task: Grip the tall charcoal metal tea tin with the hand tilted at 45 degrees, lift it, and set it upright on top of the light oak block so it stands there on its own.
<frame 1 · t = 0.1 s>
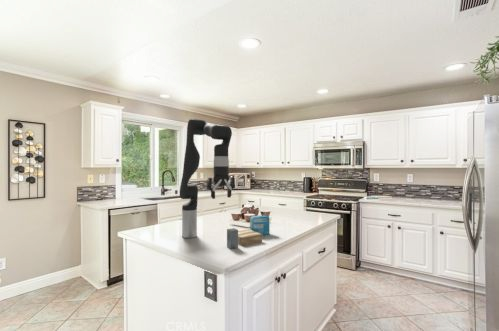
hand: (221, 198, 133), 29 cm above the counter, tool pointing down, fingers open, 8 cm apart
oak block: (245, 241, 160), on the counter
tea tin: (232, 247, 148), on the counter
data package: (259, 234, 176), on the counter
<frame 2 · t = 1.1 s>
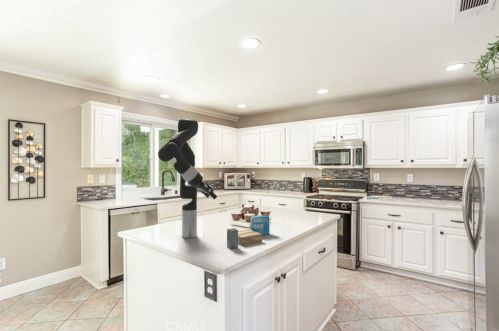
hand: (212, 197, 141), 29 cm above the counter, tool tilted 45°, fingers open, 8 cm apart
nothing on the counter moved.
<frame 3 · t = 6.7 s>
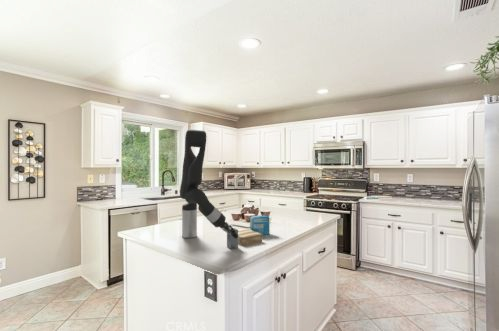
hand: (234, 236, 148), 6 cm above the counter, tool tilted 45°, fingers closed on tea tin, 4 cm apart
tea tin: (232, 247, 148), on the counter, touching gripper
everything else where it was.
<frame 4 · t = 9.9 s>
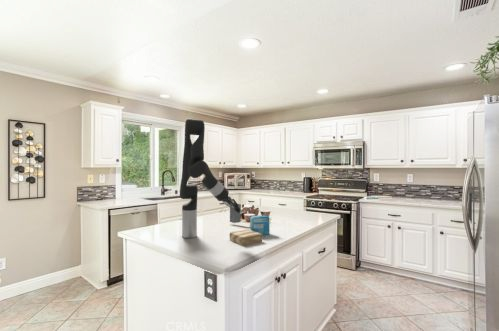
hand: (237, 210, 151), 20 cm above the counter, tool tilted 45°, fingers closed on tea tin, 4 cm apart
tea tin: (235, 221, 150), point 14 cm above the counter, touching gripper
everything else where it was.
when the fingers open (13 cm above the counter, at t = 13.3 s): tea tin drops 2 cm, point 5 cm above the counter.
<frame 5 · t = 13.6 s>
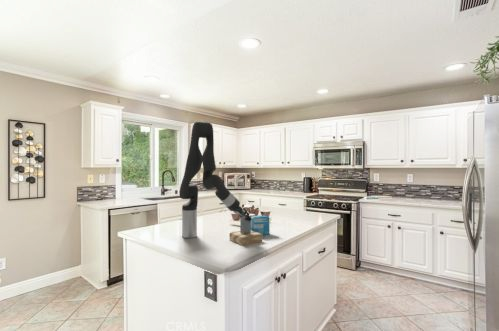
hand: (247, 219, 161), 13 cm above the counter, tool tilted 45°, fingers open, 6 cm apart
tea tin: (245, 233, 161), point 5 cm above the counter
everything else where it was.
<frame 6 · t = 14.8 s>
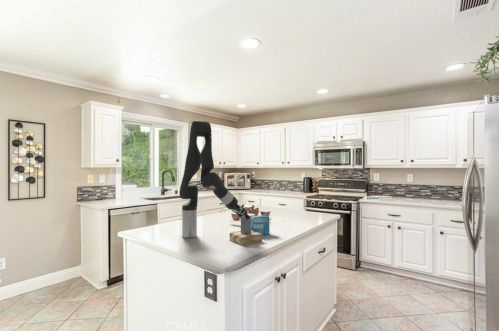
hand: (244, 217, 160), 14 cm above the counter, tool tilted 45°, fingers open, 8 cm apart
nothing on the counter moved.
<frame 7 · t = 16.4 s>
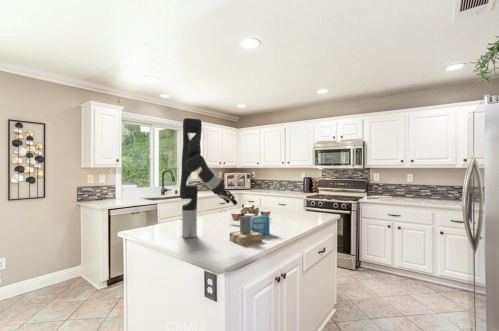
hand: (232, 203, 154), 24 cm above the counter, tool tilted 45°, fingers open, 8 cm apart
oak block: (245, 241, 160), on the counter, touching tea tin
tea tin: (245, 233, 161), point 5 cm above the counter, touching oak block
everything else where it was.
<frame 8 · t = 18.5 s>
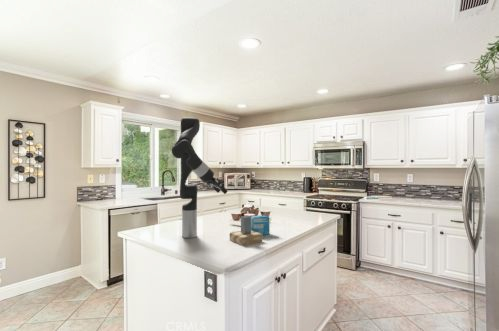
hand: (222, 192, 148), 31 cm above the counter, tool tilted 45°, fingers open, 8 cm apart
oak block: (245, 241, 161), on the counter
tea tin: (246, 233, 160), point 5 cm above the counter
everything else where it was.
at the end: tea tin inside the target area on the oak block (0.1 cm from its centre), point 5.1 cm above the oak block's base; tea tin tilted 1°; the gripper is holding nothing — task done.
